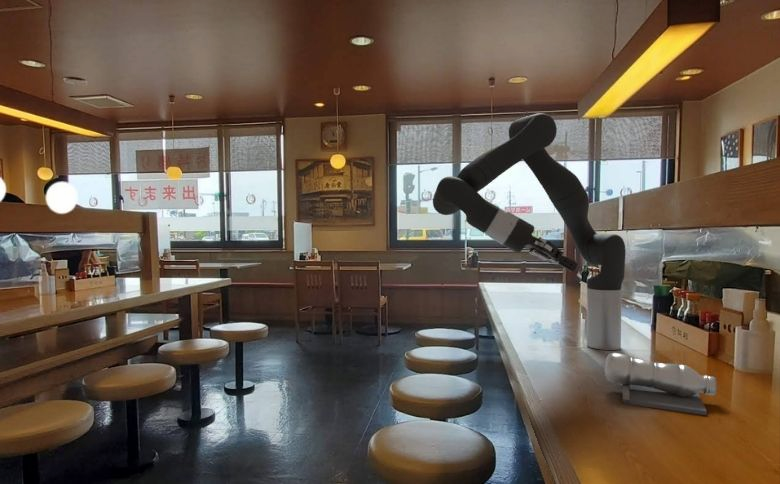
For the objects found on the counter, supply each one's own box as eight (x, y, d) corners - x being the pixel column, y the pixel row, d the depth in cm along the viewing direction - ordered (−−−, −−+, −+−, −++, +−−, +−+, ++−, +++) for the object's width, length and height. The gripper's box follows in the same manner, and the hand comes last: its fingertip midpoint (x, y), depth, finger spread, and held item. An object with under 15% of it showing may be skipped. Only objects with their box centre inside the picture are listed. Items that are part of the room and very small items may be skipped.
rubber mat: (622, 381, 106) (622, 373, 106) (695, 390, 100) (695, 382, 100) (622, 403, 93) (622, 394, 93) (706, 415, 87) (706, 405, 87)
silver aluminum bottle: (603, 368, 105) (708, 388, 97) (602, 387, 99) (714, 410, 91) (606, 344, 102) (714, 362, 94) (605, 363, 97) (720, 384, 89)
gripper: (522, 212, 104) (592, 252, 102) (512, 220, 117) (574, 256, 115) (505, 241, 104) (575, 281, 101) (497, 246, 117) (559, 282, 114)
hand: (574, 268), depth 108 cm, fingers closed
